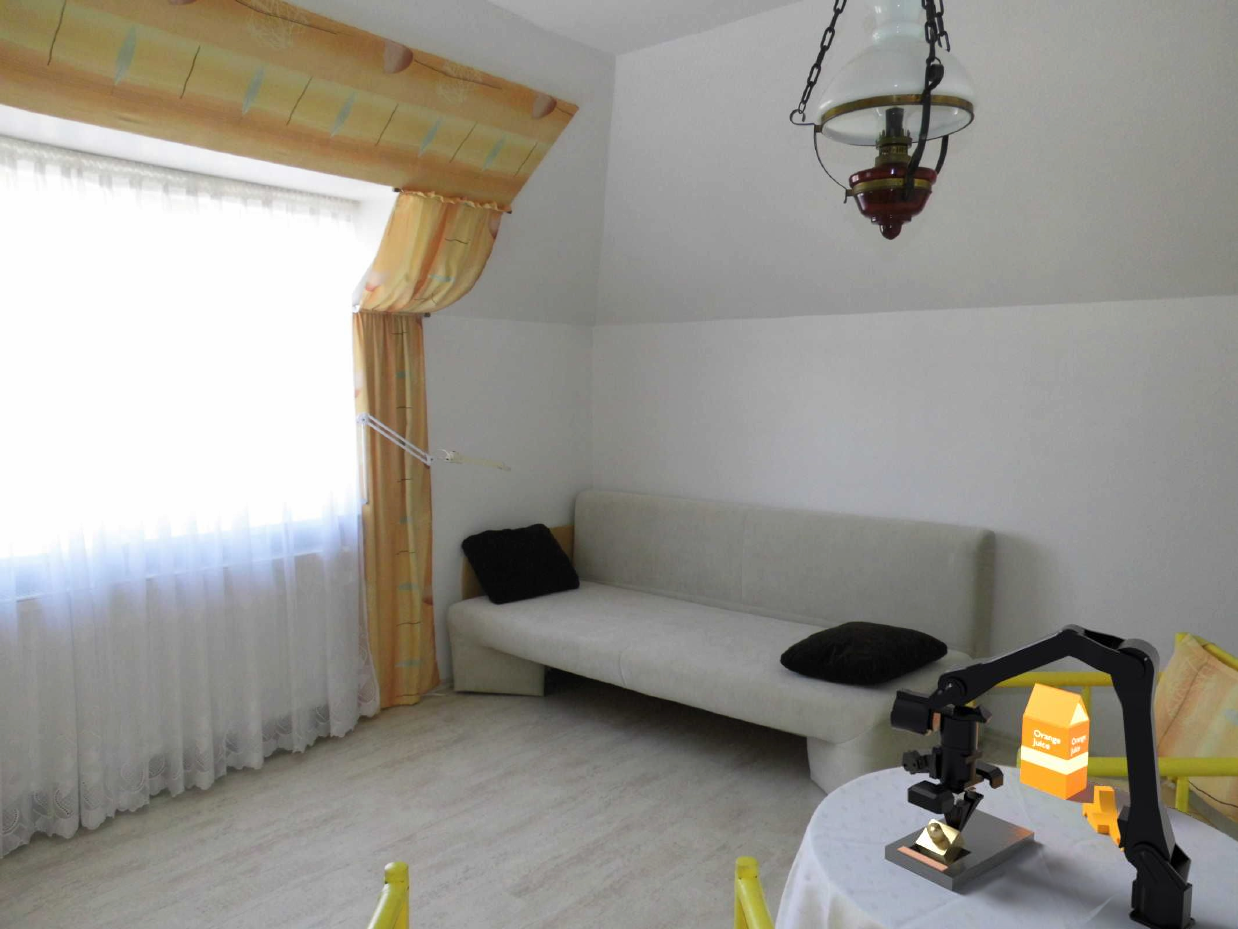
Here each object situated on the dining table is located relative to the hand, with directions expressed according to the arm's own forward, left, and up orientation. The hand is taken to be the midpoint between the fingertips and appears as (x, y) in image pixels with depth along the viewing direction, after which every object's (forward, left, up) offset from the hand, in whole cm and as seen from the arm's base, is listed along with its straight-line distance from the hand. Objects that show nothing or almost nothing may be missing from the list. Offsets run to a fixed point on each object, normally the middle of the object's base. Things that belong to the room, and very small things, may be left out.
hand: (954, 836), depth 146 cm
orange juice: (+2, -36, -3) cm, 36 cm away
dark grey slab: (0, -2, -3) cm, 4 cm away
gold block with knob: (0, +2, -2) cm, 3 cm away
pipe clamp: (-12, -27, -4) cm, 30 cm away
